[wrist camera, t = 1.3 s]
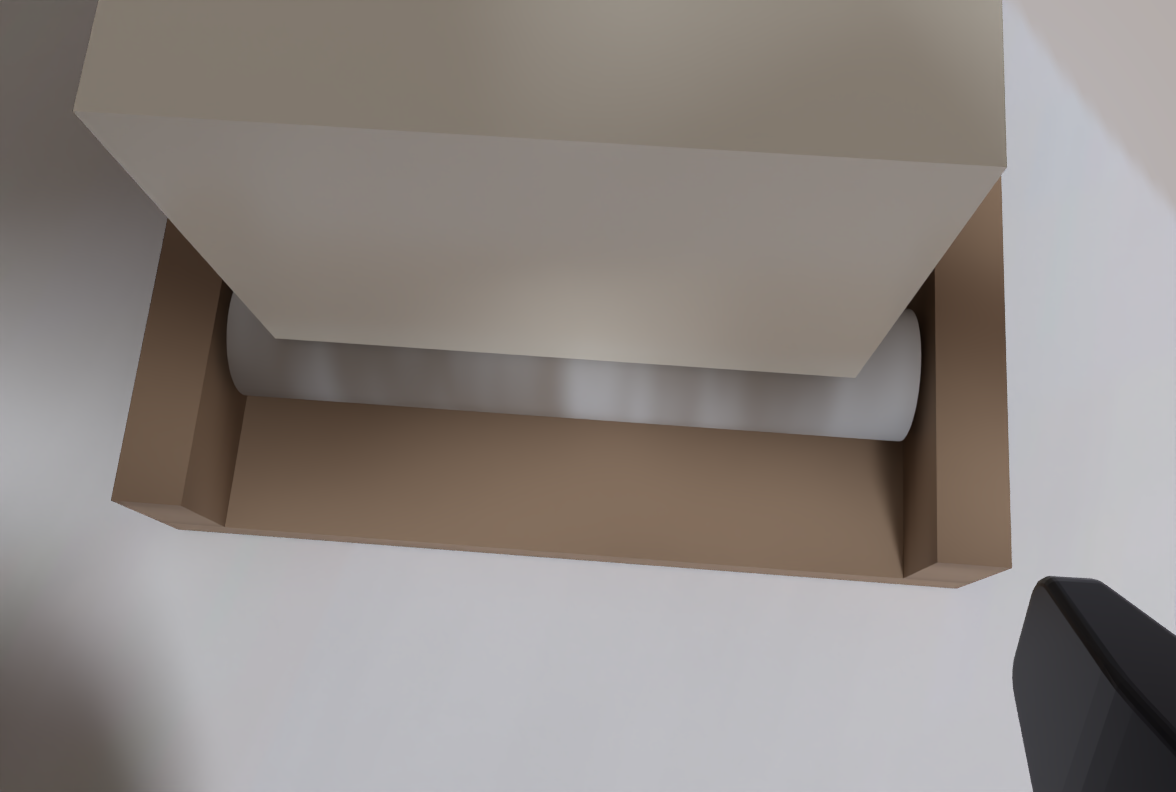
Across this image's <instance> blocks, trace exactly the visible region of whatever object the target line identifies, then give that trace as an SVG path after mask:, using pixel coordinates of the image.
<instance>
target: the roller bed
mask: <svg viewBox="0 0 1176 792" xmlns="http://www.w3.org/2000/svg"><path fill="white" fill-rule="evenodd" d="M111 501H113V502H116V503H118V504H120V505H123V506H125V507H127V508H130V509H132V510H134V511H137V512H139V513H141V514H144V515H146V516H148V517H151V518H153V519H155V520H158V521H160V522H162V523H165V524H167V525H169V526H172V527H174V528H176V529H180V530H194V531H207V532H220V533H233V534H246V535H259V536H273V537H286V538H299V539H312V540H325V541H338V542H352V543H365V544H378V545H391V546H404V547H417V548H431V549H444V550H457V551H470V552H483V553H496V554H510V555H523V556H536V557H549V558H562V559H575V560H589V561H602V562H615V563H628V564H641V565H654V566H668V567H681V568H694V569H707V570H720V571H733V572H747V573H760V574H773V575H786V576H799V577H812V578H826V579H839V580H852V581H865V582H878V583H891V584H905V585H918V586H931V587H944V588H959V587H962V586H965V585H967V584H970V583H973V582H976V581H978V580H981V579H984V578H986V577H989V576H992V575H994V574H997V573H1000V572H1002V571H1005V570H1008V569H1011V568H1012V556H1011V519H1010V483H1009V446H1008V409H1007V373H1006V336H1005V300H1004V263H1003V227H1002V190H1001V176H1000V177H999V179H998V180H997V182H996V183H995V184H994V186H993V187H992V189H991V190H990V191H989V193H988V194H987V196H986V197H985V198H984V200H983V201H982V202H981V204H980V205H979V207H978V208H977V209H976V211H975V212H974V214H973V215H972V216H971V218H970V219H969V221H968V222H967V223H966V225H965V226H964V228H963V229H962V230H961V232H960V233H959V234H958V236H957V237H956V239H955V240H954V241H953V243H952V244H951V246H950V247H949V248H948V250H947V251H946V253H945V254H944V255H943V257H942V258H941V260H940V261H939V262H938V264H937V265H936V266H935V268H934V269H933V271H932V272H931V273H930V275H929V276H928V278H927V279H926V280H925V282H924V283H923V285H922V286H921V287H920V289H919V290H918V292H917V293H916V294H915V296H914V297H913V298H912V300H911V301H910V303H909V304H908V305H907V307H906V308H905V310H904V311H903V312H902V314H901V315H900V317H899V318H898V319H897V321H896V322H895V324H894V325H893V326H892V328H891V329H890V330H889V332H888V333H887V335H886V336H885V337H884V339H883V340H882V342H881V343H880V344H879V346H878V347H877V349H876V350H875V351H874V353H873V354H872V356H871V357H870V358H869V360H868V361H867V362H866V364H865V365H864V367H863V368H862V369H861V371H860V372H859V374H858V375H857V376H856V378H848V377H833V376H819V375H804V374H789V373H775V372H760V371H745V370H731V369H716V368H702V367H687V366H672V365H658V364H643V363H628V362H614V361H599V360H584V359H570V358H555V357H541V356H526V355H511V354H497V353H482V352H467V351H453V350H438V349H423V348H409V347H394V346H380V345H365V344H350V343H336V342H321V341H306V340H292V339H277V338H274V336H273V335H272V334H271V333H270V332H269V331H268V330H267V329H266V328H265V326H264V325H263V324H262V323H261V322H260V321H259V320H258V319H257V317H256V316H255V315H254V314H253V313H252V312H251V311H250V310H249V308H248V307H247V306H246V305H245V304H244V303H243V302H242V301H241V299H240V298H239V297H238V296H237V295H236V294H235V293H234V292H233V291H232V289H231V288H230V287H229V286H228V285H227V284H226V283H225V282H224V280H223V279H222V278H221V277H220V276H219V275H218V274H217V273H216V271H215V270H214V269H213V268H212V267H211V266H210V265H209V264H208V262H207V261H206V260H205V259H204V258H203V257H202V256H201V255H200V254H199V252H198V251H197V250H196V249H195V248H194V247H193V246H192V245H191V243H190V242H189V241H188V240H187V239H186V238H185V237H184V236H183V234H182V233H181V232H180V231H179V230H178V229H177V228H176V227H175V225H174V224H173V223H172V222H171V221H170V220H169V219H167V224H166V229H165V234H164V239H163V244H162V249H161V254H160V259H159V264H158V269H157V274H156V279H155V284H154V289H153V294H152V299H151V304H150V309H149V314H148V319H147V323H146V328H145V333H144V338H143V343H142V348H141V353H140V358H139V363H138V368H137V373H136V378H135V383H134V388H133V393H132V398H131V403H130V408H129V413H128V418H127V423H126V428H125V433H124V438H123V443H122V448H121V453H120V458H119V463H118V468H117V473H116V478H115V483H114V488H113V493H112V498H111Z"/></svg>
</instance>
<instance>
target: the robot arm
mask: <svg viewBox="0 0 1176 792" xmlns="http://www.w3.org/2000/svg"><path fill="white" fill-rule="evenodd" d="M1012 680H1013V691H1014V697H1015V702H1016V707H1017V712H1018V717H1019V722H1020V727H1021V732H1022V737H1023V743H1024V748H1025V753H1026V758H1027V763H1028V768H1029V773H1030V778H1031V783H1032V788H1033V792H1176V635H1174V634H1173V633H1171V632H1170V631H1169V630H1167V629H1166V628H1165V627H1163V626H1162V625H1160V624H1159V623H1158V622H1156V621H1155V620H1154V619H1152V618H1151V617H1149V616H1148V615H1147V614H1145V613H1144V612H1143V611H1141V610H1140V609H1138V608H1137V607H1136V606H1134V605H1133V604H1132V603H1130V602H1129V601H1128V600H1126V599H1125V598H1123V597H1122V596H1121V595H1119V594H1118V593H1117V592H1115V591H1114V590H1112V589H1111V588H1110V587H1108V586H1107V585H1105V584H1104V583H1102V582H1101V581H1098V580H1095V579H1090V578H1073V577H1056V576H1047V577H1045V578H1043V579H1041V580H1040V581H1038V583H1037V585H1036V586H1035V588H1034V590H1033V592H1032V595H1031V599H1030V602H1029V606H1028V610H1027V613H1026V617H1025V621H1024V624H1023V628H1022V631H1021V635H1020V639H1019V642H1018V646H1017V650H1016V653H1015V657H1014V662H1013V674H1012Z"/></svg>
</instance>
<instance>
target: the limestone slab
mask: <svg viewBox="0 0 1176 792" xmlns="http://www.w3.org/2000/svg"><path fill="white" fill-rule="evenodd" d="M73 112H74V113H75V115H76V116H77V117H78V118H79V119H80V120H81V121H82V122H83V123H84V125H85V126H86V127H87V128H88V129H89V130H90V131H91V132H92V134H93V135H94V136H95V137H96V138H97V139H98V140H99V141H100V143H101V144H102V145H103V146H104V147H105V148H106V149H107V150H108V152H109V153H110V154H111V155H112V156H113V157H114V158H115V159H116V160H117V162H118V163H119V164H120V165H121V166H122V167H123V168H124V169H125V171H126V172H127V173H128V174H129V175H130V176H131V177H132V178H133V180H134V181H135V182H136V183H137V184H138V185H139V186H140V187H141V189H142V190H143V191H144V192H145V193H146V194H147V195H148V196H149V197H150V199H151V200H152V201H153V202H154V203H155V204H156V205H157V206H158V208H159V209H160V210H161V211H162V212H163V213H164V214H165V215H166V217H167V218H168V219H169V220H170V221H171V222H172V223H173V224H174V225H175V227H176V228H177V229H178V230H179V231H180V232H181V233H182V234H183V236H184V237H185V238H186V239H187V240H188V241H189V242H190V243H191V245H192V246H193V247H194V248H195V249H196V250H197V251H198V252H199V254H200V255H201V256H202V257H203V258H204V259H205V260H206V261H207V262H208V264H209V265H210V266H211V267H212V268H213V269H214V270H215V271H216V273H217V274H218V275H219V276H220V277H221V278H222V279H223V280H224V282H225V283H226V284H227V285H228V286H229V287H230V288H231V289H232V291H233V292H234V293H235V294H236V295H237V296H238V297H239V298H240V299H241V301H242V302H243V303H244V304H245V305H246V306H247V307H248V308H249V310H250V311H251V312H252V313H253V314H254V315H255V316H256V317H257V319H258V320H259V321H260V322H261V323H262V324H263V325H264V326H265V328H266V329H267V330H268V331H269V332H270V333H271V334H272V335H273V336H274V338H277V339H292V340H306V341H321V342H336V343H350V344H365V345H380V346H394V347H409V348H423V349H438V350H453V351H467V352H482V353H497V354H511V355H526V356H541V357H555V358H570V359H584V360H599V361H614V362H628V363H643V364H658V365H672V366H687V367H702V368H716V369H731V370H745V371H760V372H775V373H789V374H804V375H819V376H833V377H848V378H856V376H857V375H858V374H859V372H860V371H861V369H862V368H863V367H864V365H865V364H866V362H867V361H868V360H869V358H870V357H871V356H872V354H873V353H874V351H875V350H876V349H877V347H878V346H879V344H880V343H881V342H882V340H883V339H884V337H885V336H886V335H887V333H888V332H889V330H890V329H891V328H892V326H893V325H894V324H895V322H896V321H897V319H898V318H899V317H900V315H901V314H902V312H903V311H904V310H905V308H906V307H907V305H908V304H909V303H910V301H911V300H912V298H913V297H914V296H915V294H916V293H917V292H918V290H919V289H920V287H921V286H922V285H923V283H924V282H925V280H926V279H927V278H928V276H929V275H930V273H931V272H932V271H933V269H934V268H935V266H936V265H937V264H938V262H939V261H940V260H941V258H942V257H943V255H944V254H945V253H946V251H947V250H948V248H949V247H950V246H951V244H952V243H953V241H954V240H955V239H956V237H957V236H958V234H959V233H960V232H961V230H962V229H963V228H964V226H965V225H966V223H967V222H968V221H969V219H970V218H971V216H972V215H973V214H974V212H975V211H976V209H977V208H978V207H979V205H980V204H981V202H982V201H983V200H984V198H985V197H986V196H987V194H988V193H989V191H990V190H991V189H992V187H993V186H994V184H995V183H996V182H997V180H998V179H999V177H1000V176H1001V175H1002V173H1003V172H1004V170H1005V169H1006V168H1007V156H1006V122H1005V87H1004V53H1003V18H1002V0H98V4H97V8H96V13H95V17H94V21H93V25H92V30H91V34H90V38H89V43H88V47H87V51H86V55H85V60H84V64H83V68H82V73H81V77H80V81H79V85H78V90H77V94H76V98H75V102H74V107H73Z"/></svg>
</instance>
